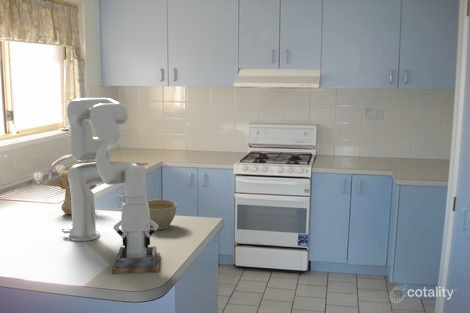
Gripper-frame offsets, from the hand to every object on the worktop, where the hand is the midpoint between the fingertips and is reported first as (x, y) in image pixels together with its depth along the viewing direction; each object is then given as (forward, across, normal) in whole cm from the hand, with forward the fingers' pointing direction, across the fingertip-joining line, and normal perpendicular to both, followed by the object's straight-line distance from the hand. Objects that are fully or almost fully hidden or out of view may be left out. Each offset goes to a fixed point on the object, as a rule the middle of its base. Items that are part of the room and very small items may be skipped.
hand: (136, 246), depth 186 cm
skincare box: (+5, 0, 0) cm, 5 cm away
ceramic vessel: (+7, -35, +74) cm, 82 cm away
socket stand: (+7, 0, 0) cm, 7 cm away
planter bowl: (+7, +6, +46) cm, 47 cm away
